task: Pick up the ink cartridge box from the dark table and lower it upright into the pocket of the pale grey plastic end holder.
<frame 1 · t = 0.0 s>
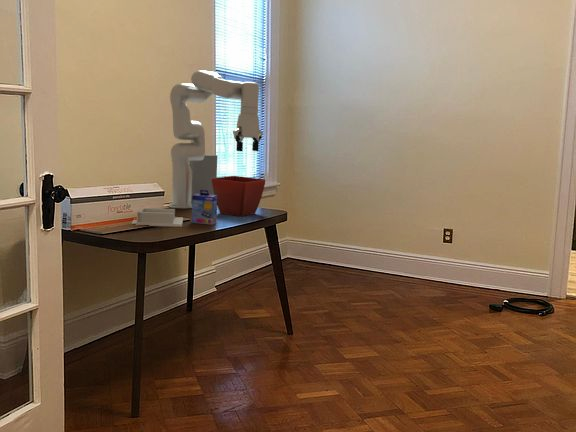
hand: (247, 151, 254), 31 cm above the table, tool pointing down, fingers open, 9 cm apart
grey slab: (201, 202, 309), on the table
ink cartridge box: (203, 223, 249), on the table
plant pot: (237, 214, 277), on the table
end holder: (158, 222, 244), on the table
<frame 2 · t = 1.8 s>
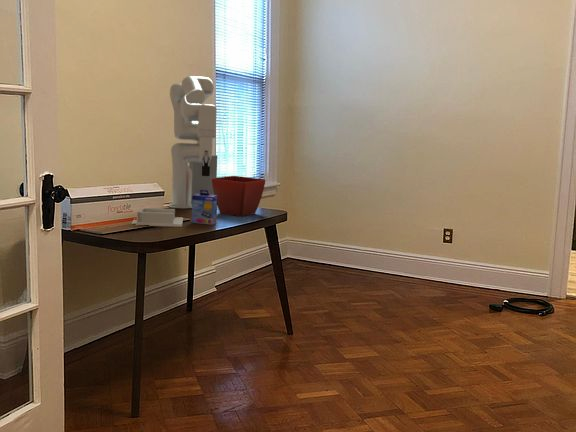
hand: (205, 175, 245), 21 cm above the table, tool pointing down, fingers open, 9 cm apart
nothing on the table moved.
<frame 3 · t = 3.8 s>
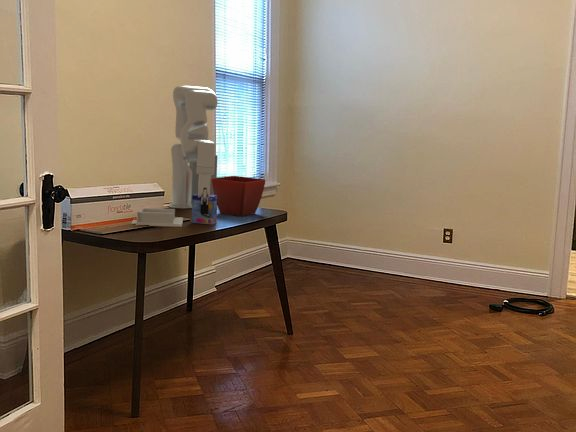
hand: (204, 212, 248), 5 cm above the table, tool pointing down, fingers closed on ink cartridge box, 6 cm apart
ink cartridge box: (203, 223, 249), on the table, touching gripper
everything else where it was.
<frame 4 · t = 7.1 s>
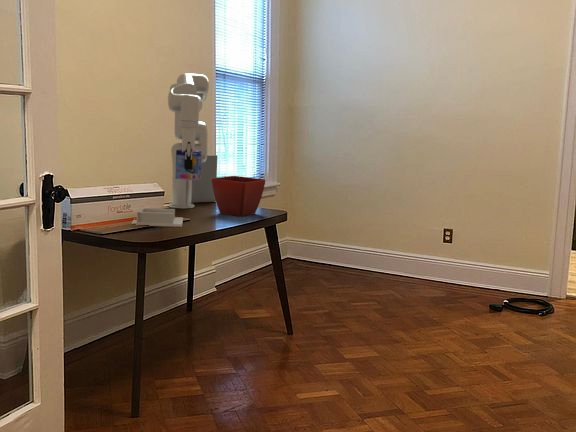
hand: (188, 168, 243), 23 cm above the table, tool pointing down, fingers closed on ink cartridge box, 6 cm apart
ink cartridge box: (188, 179, 244), point 18 cm above the table, touching gripper
everything else where it was.
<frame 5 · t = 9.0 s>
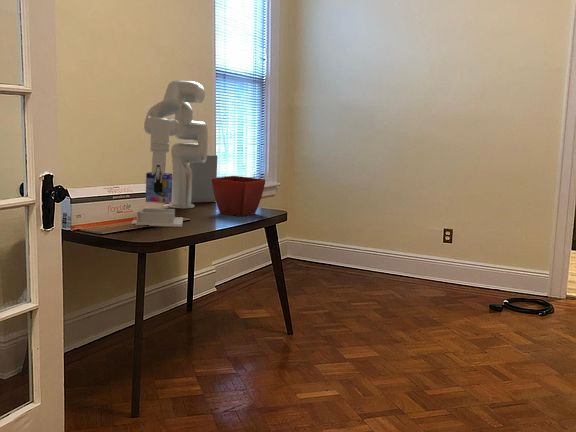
hand: (158, 191, 242), 13 cm above the table, tool pointing down, fingers closed on ink cartridge box, 6 cm apart
ink cartridge box: (158, 202, 242), point 8 cm above the table, touching gripper
everything else where it was.
when the fingers open (7 cm above the table, at t = 10.6 s): ink cartridge box drops 1 cm, resting on end holder.
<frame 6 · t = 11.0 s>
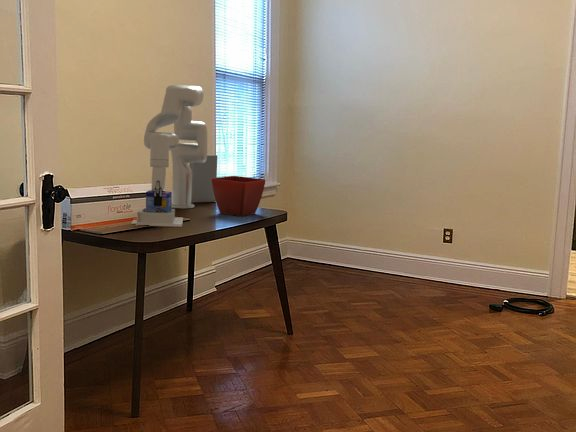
hand: (158, 204, 243), 8 cm above the table, tool pointing down, fingers open, 9 cm apart
ink cartridge box: (158, 220, 244), point 1 cm above the table, touching end holder
everything else where it was.
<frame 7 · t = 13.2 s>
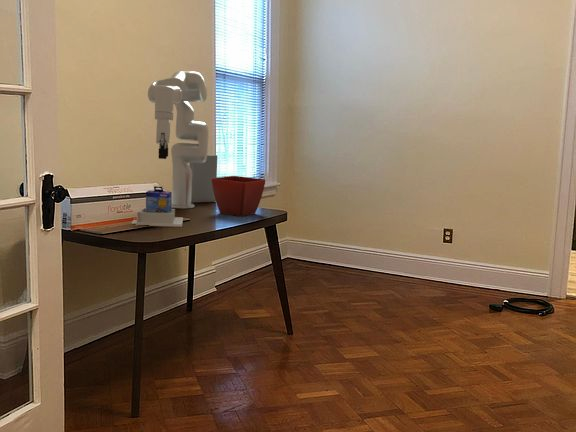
hand: (163, 157, 243), 27 cm above the table, tool pointing down, fingers open, 9 cm apart
nothing on the table moved.
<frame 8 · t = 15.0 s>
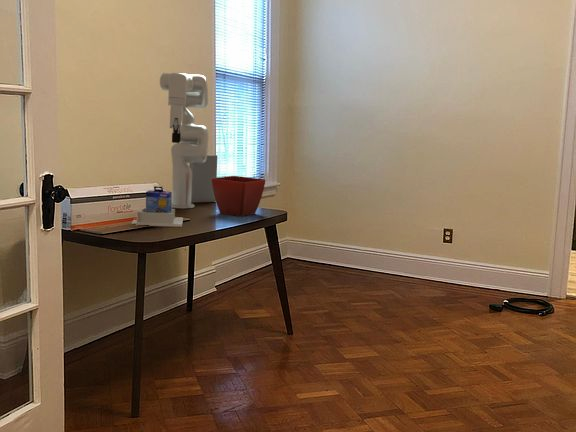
hand: (176, 142, 253), 33 cm above the table, tool pointing down, fingers open, 9 cm apart
nothing on the table moved.
at the end: ink cartridge box 0.2 cm off-centre on the end holder, point 0.8 cm above the end holder's base; ink cartridge box tilted 0°; the gripper is holding nothing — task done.
